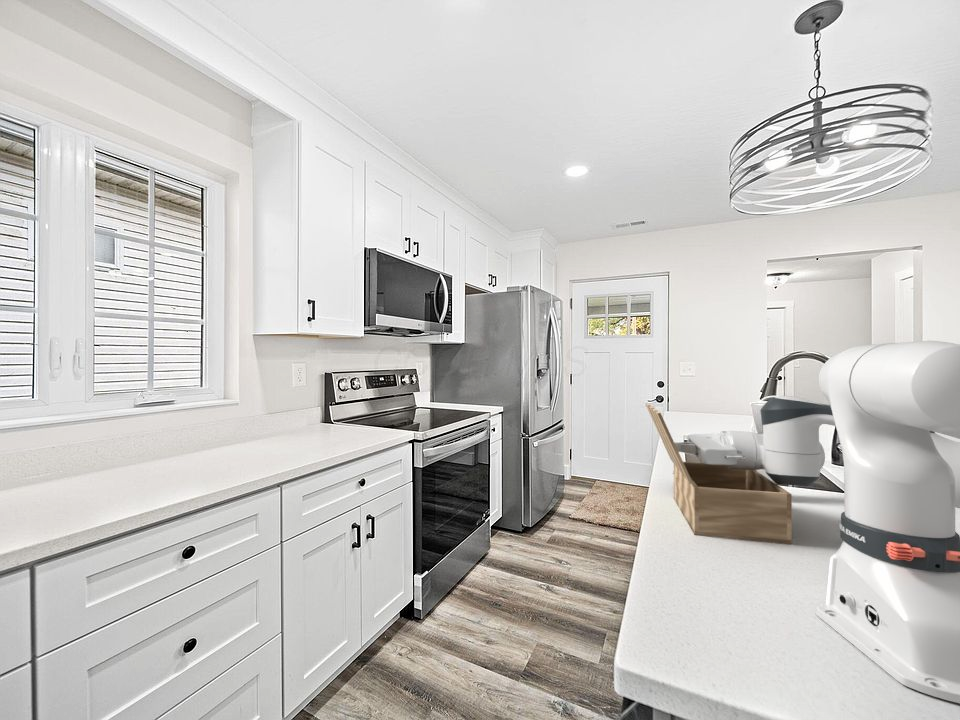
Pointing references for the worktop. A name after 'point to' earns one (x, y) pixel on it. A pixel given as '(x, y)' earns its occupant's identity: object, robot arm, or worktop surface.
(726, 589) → the worktop surface
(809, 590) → the worktop surface
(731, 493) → the wooden box
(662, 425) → the lid flap
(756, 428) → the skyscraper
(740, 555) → the worktop surface
